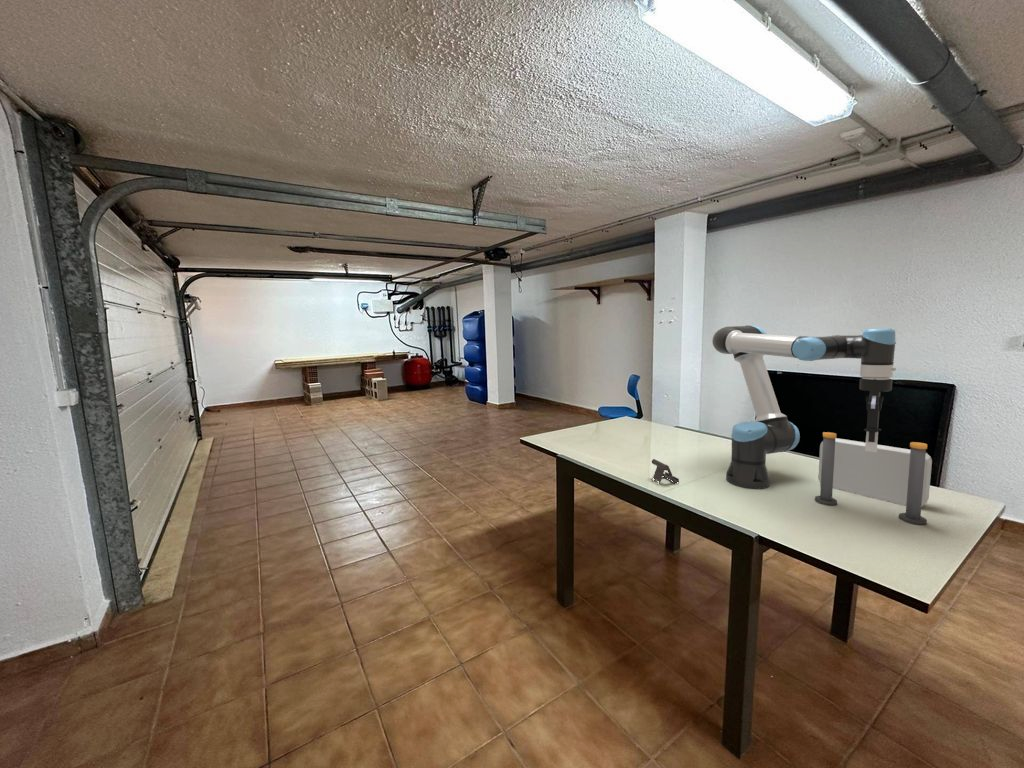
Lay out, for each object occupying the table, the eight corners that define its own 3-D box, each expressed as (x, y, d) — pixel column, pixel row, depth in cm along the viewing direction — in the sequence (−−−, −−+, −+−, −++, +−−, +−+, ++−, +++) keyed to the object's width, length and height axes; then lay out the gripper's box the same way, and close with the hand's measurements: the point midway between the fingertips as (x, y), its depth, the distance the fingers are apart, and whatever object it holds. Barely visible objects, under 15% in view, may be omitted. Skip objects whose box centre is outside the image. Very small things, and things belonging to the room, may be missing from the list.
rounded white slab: (929, 504, 131) (934, 451, 129) (923, 510, 127) (928, 456, 124) (825, 480, 155) (828, 435, 152) (817, 484, 150) (820, 438, 148)
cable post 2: (898, 520, 120) (904, 444, 118) (899, 514, 125) (904, 440, 122) (926, 527, 116) (933, 447, 113) (926, 519, 120) (933, 443, 117)
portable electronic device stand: (679, 484, 156) (679, 463, 156) (661, 486, 155) (662, 466, 154) (665, 476, 165) (665, 457, 164) (649, 479, 163) (649, 459, 162)
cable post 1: (813, 502, 135) (816, 434, 132) (816, 496, 140) (819, 430, 137) (835, 507, 131) (839, 436, 128) (838, 501, 135) (842, 433, 132)
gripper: (891, 380, 116) (886, 458, 119) (893, 376, 125) (887, 448, 128) (858, 379, 121) (853, 453, 124) (861, 375, 130) (857, 444, 133)
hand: (870, 451), depth 126 cm, fingers closed
